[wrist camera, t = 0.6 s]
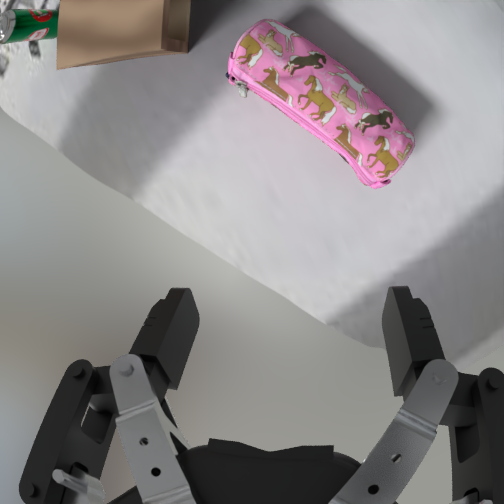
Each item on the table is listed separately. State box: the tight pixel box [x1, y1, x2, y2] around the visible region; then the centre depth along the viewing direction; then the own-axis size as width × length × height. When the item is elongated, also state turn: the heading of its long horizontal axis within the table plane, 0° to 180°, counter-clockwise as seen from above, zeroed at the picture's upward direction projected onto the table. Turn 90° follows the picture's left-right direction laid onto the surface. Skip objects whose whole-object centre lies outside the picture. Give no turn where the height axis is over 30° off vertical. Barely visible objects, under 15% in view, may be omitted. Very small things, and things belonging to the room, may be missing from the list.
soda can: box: [0, 9, 59, 44], centre depth 21 cm, size 5×5×12 cm
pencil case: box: [226, 19, 415, 189], centre depth 27 cm, size 21×9×9 cm, turn 57°
